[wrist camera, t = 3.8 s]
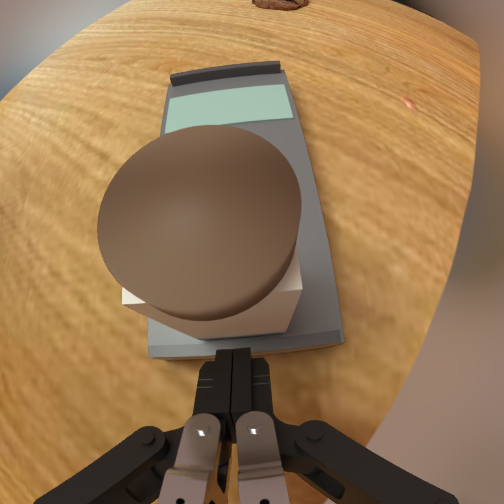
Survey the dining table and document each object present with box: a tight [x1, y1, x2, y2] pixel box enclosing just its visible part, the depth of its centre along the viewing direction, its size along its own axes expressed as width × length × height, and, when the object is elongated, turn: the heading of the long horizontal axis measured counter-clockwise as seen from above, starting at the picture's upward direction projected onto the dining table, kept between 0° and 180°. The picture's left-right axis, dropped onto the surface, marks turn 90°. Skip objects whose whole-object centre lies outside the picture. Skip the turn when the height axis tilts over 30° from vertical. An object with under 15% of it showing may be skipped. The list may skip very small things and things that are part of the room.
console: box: [148, 61, 345, 360], centre depth 23 cm, size 26×12×4 cm, turn 5°
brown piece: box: [97, 125, 303, 340], centre depth 12 cm, size 5×5×12 cm
